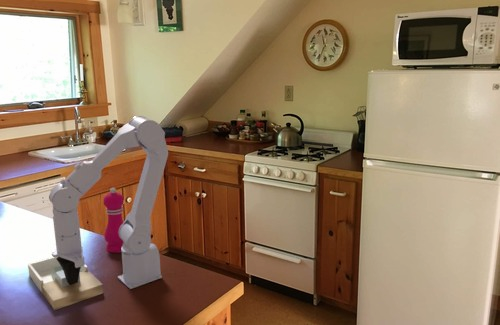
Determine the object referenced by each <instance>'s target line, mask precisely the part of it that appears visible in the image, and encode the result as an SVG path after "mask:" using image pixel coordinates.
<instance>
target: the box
mask: <svg viewBox="0 0 500 325" xmlns="http://www.w3.org/2000/svg"><path fill="white" fill-rule="evenodd" d="M56 258H57V257H53V256H52V257H49V258H46V259H42V260H39V261H35V262H30V263H28V264H27V267H28V275H29V277H30V279H31V280H32V281H33V283H34V284H35V285H36V287H37V289H38V290H39V292H41V293H42V288H41V284H44V283H48V282H51V281H53V279H52V276H51V275H52V271H53V268H55V267H59V266H61V265H60V264H59V262H58V261H57V259H56ZM86 270H88V271H89V266H87V264H85V266H81V268H80V272H83V271H86Z"/></svg>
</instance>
